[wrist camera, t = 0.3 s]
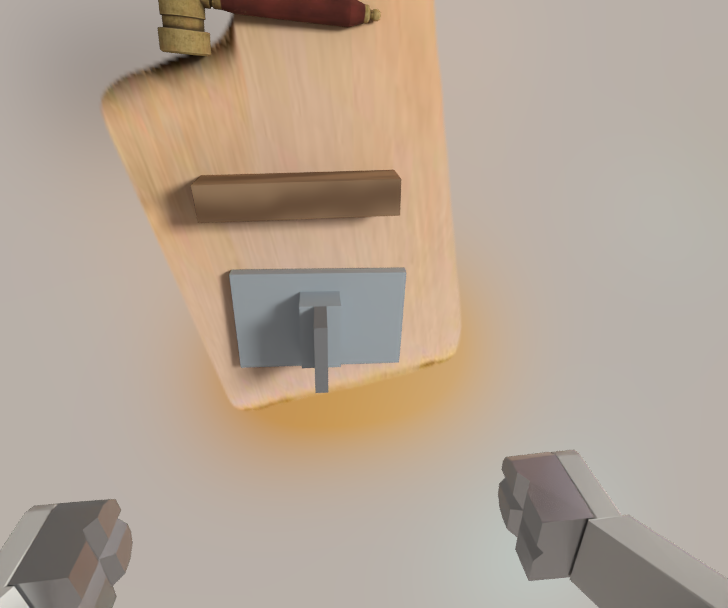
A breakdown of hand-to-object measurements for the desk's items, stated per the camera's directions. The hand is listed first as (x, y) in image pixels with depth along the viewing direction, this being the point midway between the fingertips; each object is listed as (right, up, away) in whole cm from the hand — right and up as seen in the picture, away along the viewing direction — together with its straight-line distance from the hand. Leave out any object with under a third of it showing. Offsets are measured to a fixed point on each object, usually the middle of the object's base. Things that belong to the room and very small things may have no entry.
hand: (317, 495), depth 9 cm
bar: (-6, +18, +43) cm, 47 cm away
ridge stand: (-5, +2, +51) cm, 51 cm away
